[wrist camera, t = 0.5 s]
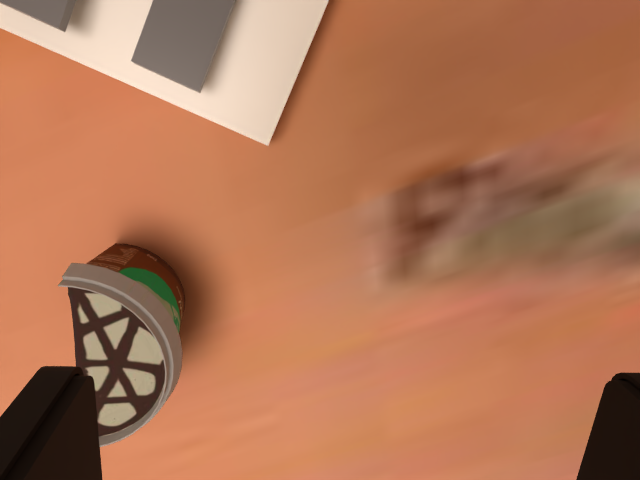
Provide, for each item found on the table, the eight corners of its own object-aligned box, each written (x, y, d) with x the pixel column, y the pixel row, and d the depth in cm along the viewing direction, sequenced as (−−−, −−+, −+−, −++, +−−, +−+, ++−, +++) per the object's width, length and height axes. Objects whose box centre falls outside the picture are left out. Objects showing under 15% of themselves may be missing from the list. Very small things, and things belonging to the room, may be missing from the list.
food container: (202, 365, 40) (181, 453, 31) (126, 367, 40) (81, 456, 30) (197, 225, 36) (171, 276, 27) (113, 224, 36) (56, 276, 26)
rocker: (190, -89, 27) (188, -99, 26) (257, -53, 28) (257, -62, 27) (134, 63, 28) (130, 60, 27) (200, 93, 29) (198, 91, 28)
